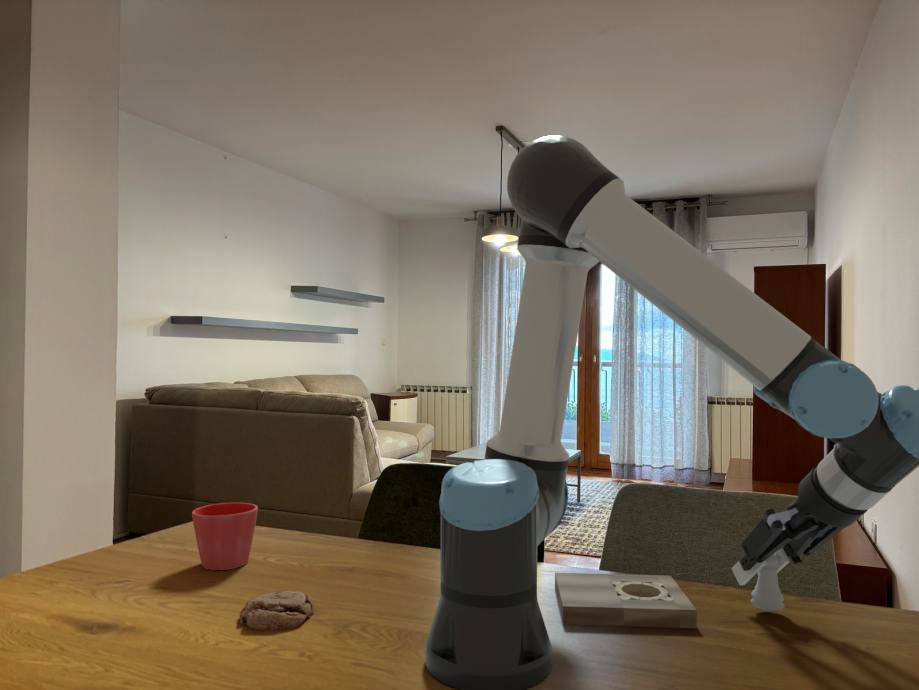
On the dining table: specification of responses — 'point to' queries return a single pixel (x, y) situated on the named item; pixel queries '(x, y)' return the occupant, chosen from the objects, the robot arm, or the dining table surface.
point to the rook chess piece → (768, 587)
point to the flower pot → (224, 534)
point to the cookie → (277, 610)
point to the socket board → (623, 601)
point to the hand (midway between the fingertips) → (749, 575)
